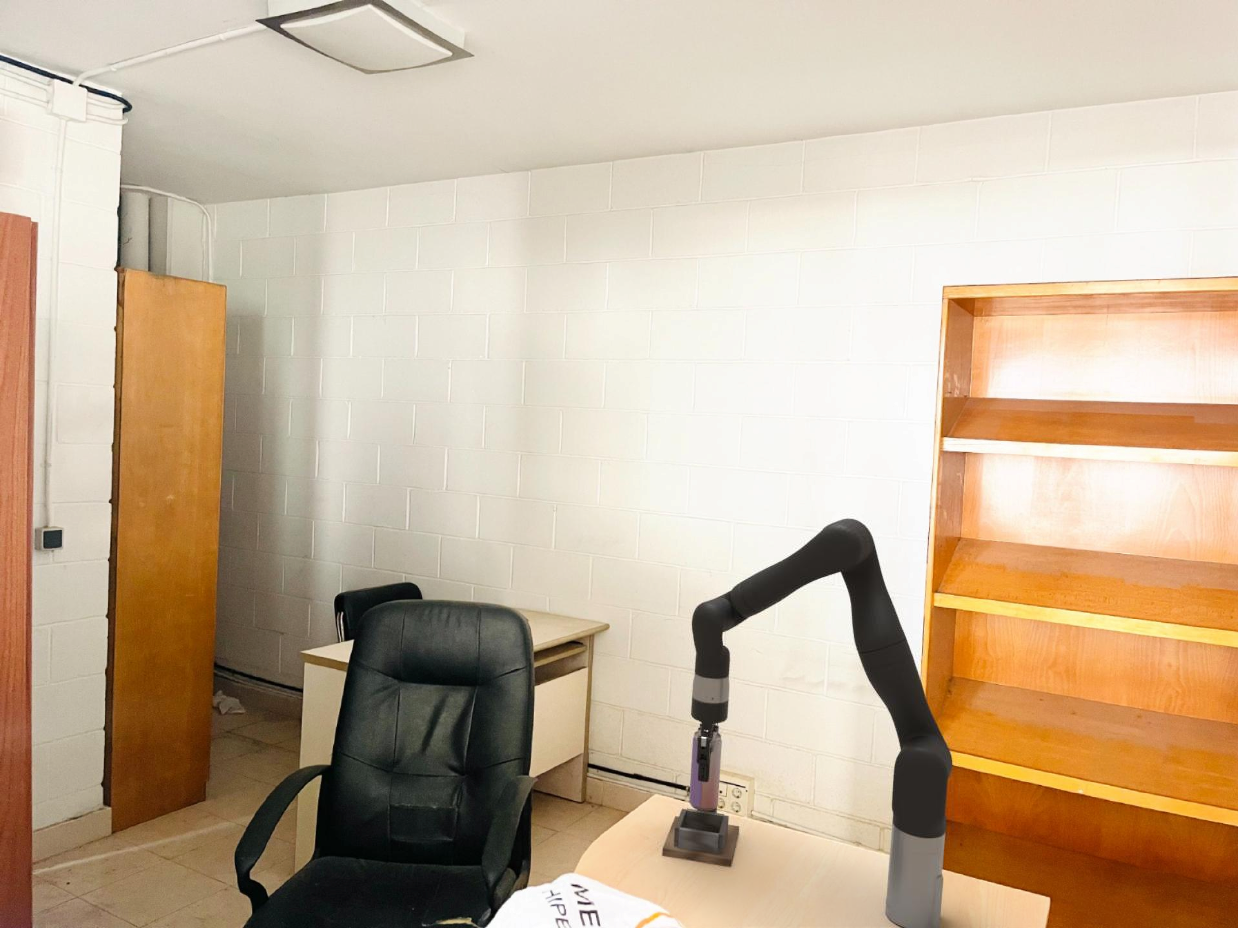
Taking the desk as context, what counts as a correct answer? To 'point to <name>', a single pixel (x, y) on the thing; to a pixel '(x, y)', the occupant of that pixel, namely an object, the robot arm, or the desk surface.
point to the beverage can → (708, 792)
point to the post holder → (702, 837)
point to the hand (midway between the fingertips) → (705, 774)
